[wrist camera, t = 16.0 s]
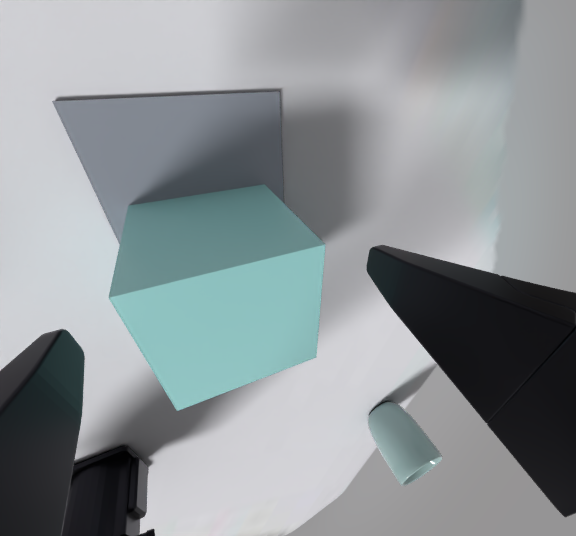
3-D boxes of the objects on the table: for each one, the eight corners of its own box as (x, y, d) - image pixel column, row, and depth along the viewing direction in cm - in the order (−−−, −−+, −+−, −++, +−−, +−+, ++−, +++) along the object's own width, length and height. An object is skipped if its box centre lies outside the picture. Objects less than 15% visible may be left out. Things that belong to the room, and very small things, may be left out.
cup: (354, 420, 45) (393, 488, 37) (387, 392, 43) (435, 456, 36) (372, 424, 50) (411, 484, 42) (403, 398, 48) (448, 456, 41)
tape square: (140, 286, 17) (140, 288, 16) (53, 101, 11) (52, 101, 11) (285, 251, 19) (286, 252, 19) (278, 91, 14) (279, 91, 14)
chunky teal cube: (170, 305, 18) (177, 411, 13) (128, 204, 14) (108, 297, 8) (271, 278, 21) (316, 357, 15) (263, 183, 16) (325, 244, 10)
